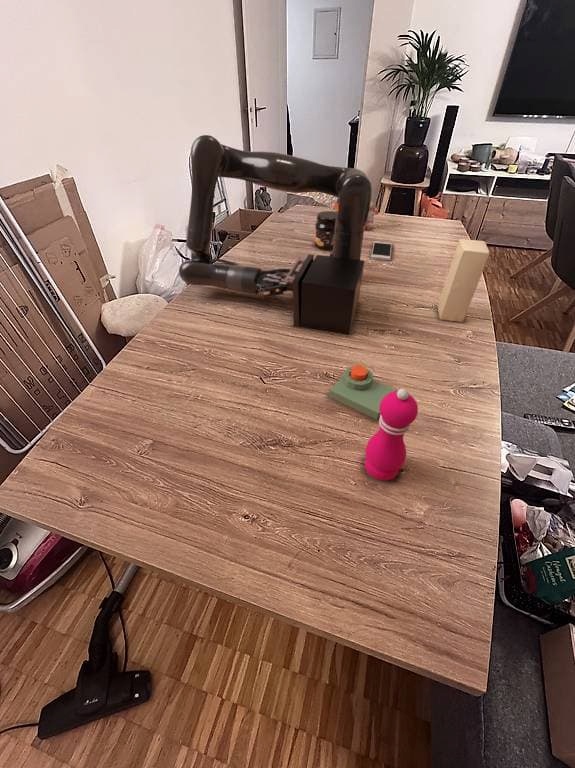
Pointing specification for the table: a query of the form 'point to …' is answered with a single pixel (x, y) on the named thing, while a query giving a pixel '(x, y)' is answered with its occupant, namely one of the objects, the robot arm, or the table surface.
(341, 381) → the switch block
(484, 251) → the tall wooden block
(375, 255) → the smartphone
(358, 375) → the button
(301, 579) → the table surface
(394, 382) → the table surface
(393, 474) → the pepper mill
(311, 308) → the oven
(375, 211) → the doll family
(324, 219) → the supplement container
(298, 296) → the oven door
